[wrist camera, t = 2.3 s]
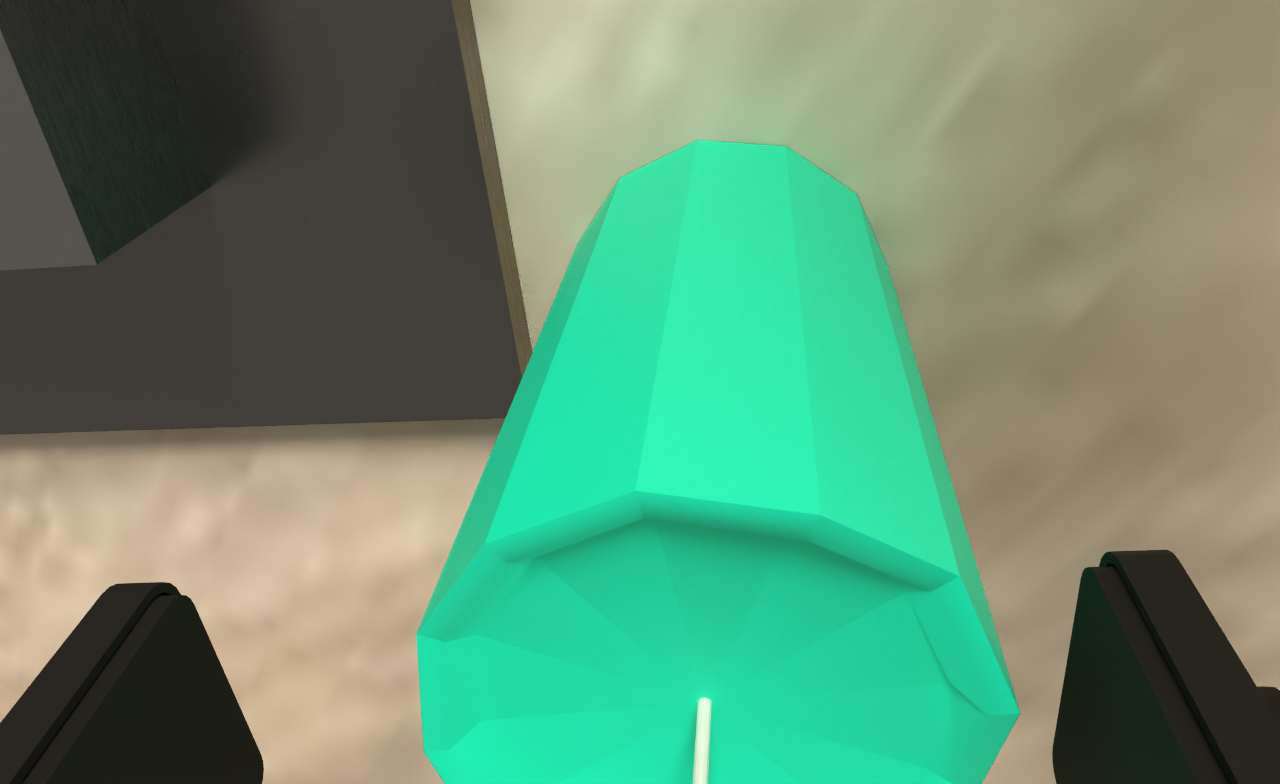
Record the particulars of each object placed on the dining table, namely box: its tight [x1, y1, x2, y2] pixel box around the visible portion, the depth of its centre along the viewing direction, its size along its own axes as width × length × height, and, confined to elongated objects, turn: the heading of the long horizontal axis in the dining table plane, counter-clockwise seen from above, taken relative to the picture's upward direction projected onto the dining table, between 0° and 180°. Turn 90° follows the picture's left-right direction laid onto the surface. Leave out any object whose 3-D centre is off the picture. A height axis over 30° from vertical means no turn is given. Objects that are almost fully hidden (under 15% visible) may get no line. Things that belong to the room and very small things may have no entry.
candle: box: [417, 140, 1020, 784], centre depth 13 cm, size 6×6×12 cm
